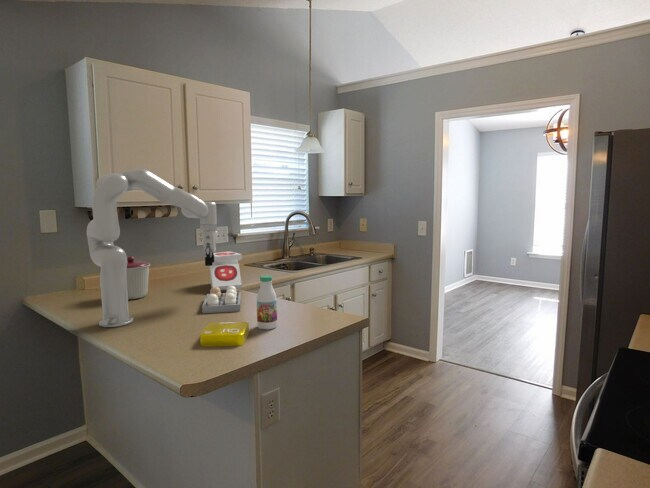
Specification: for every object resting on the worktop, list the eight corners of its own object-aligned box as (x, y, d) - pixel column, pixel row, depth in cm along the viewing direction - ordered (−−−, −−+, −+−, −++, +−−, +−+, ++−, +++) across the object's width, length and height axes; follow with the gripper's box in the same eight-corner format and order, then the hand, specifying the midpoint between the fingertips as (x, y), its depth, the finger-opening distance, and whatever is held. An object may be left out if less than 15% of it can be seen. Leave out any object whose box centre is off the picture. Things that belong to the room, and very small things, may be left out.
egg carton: (240, 311, 187) (239, 294, 186) (202, 313, 184) (201, 296, 183) (241, 298, 210) (240, 283, 209) (207, 299, 207) (206, 285, 206)
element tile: (249, 332, 159) (249, 320, 158) (243, 346, 144) (242, 333, 144) (209, 333, 159) (209, 320, 158) (199, 347, 144) (198, 334, 143)
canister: (159, 294, 221) (157, 254, 218) (135, 302, 203) (132, 259, 201) (130, 292, 225) (128, 253, 223) (104, 300, 208) (101, 258, 206)
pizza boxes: (209, 294, 219) (207, 260, 217) (207, 283, 247) (205, 252, 245) (246, 291, 225) (245, 258, 222) (240, 280, 253) (239, 250, 251)
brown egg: (220, 300, 202) (220, 287, 201) (210, 301, 201) (209, 288, 200) (221, 298, 206) (220, 285, 206) (211, 298, 205) (210, 285, 205)
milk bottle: (255, 325, 166) (254, 275, 164) (274, 322, 169) (273, 273, 167) (259, 331, 159) (258, 279, 157) (279, 328, 162) (278, 277, 159)
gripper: (215, 229, 191) (216, 266, 193) (218, 226, 208) (219, 261, 210) (198, 229, 190) (199, 267, 191) (202, 227, 207) (203, 261, 208)
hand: (209, 264), depth 201 cm, fingers open, 9 cm apart
